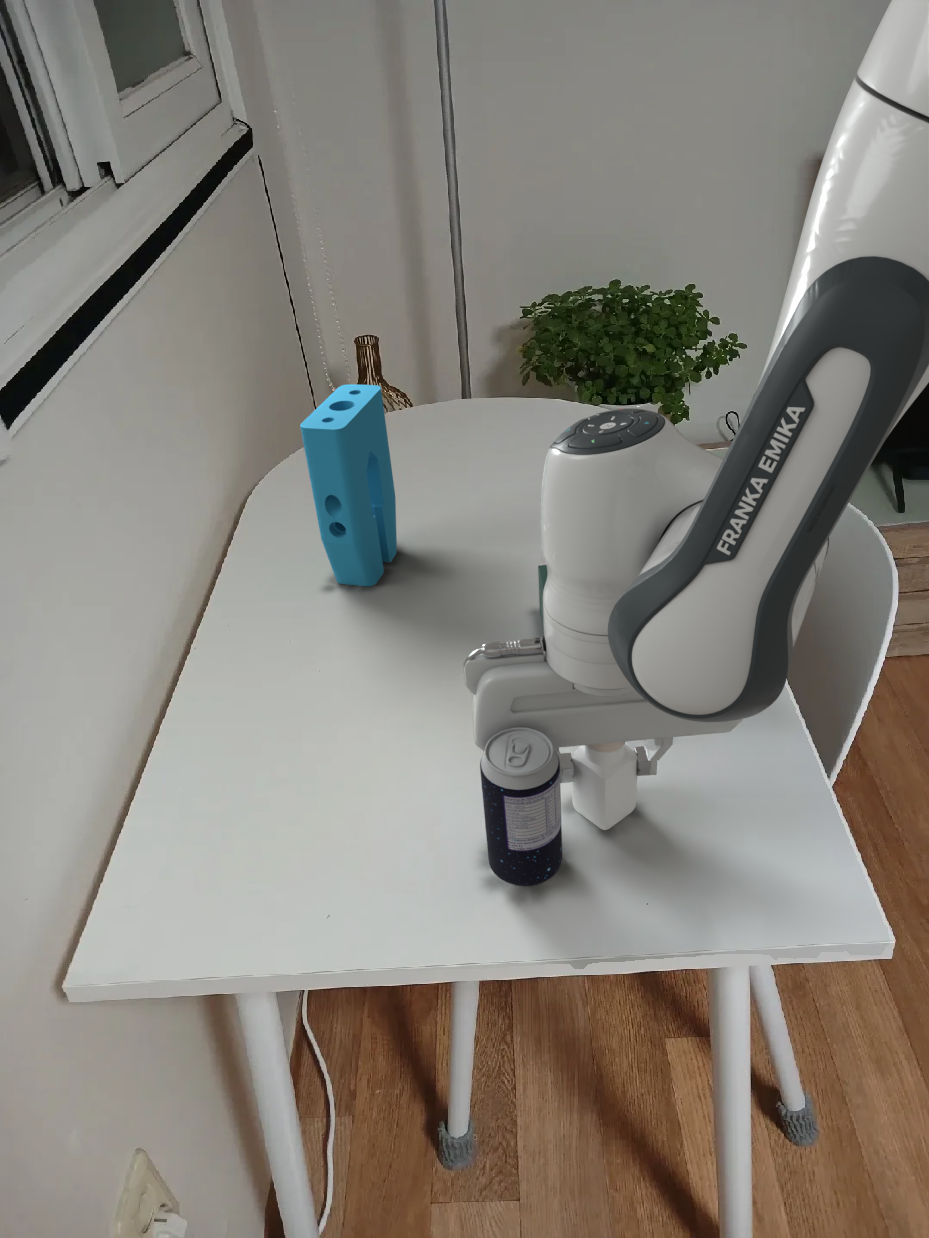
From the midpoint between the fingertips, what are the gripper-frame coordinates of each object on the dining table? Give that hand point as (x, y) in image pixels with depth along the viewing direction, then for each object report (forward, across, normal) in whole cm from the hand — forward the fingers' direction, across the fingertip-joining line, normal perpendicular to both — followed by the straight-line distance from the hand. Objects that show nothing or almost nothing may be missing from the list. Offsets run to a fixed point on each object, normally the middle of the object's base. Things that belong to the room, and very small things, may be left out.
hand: (604, 773), depth 76 cm
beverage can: (+4, -7, -5) cm, 10 cm away
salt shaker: (+4, 0, 0) cm, 4 cm away
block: (+4, -21, +42) cm, 47 cm away
